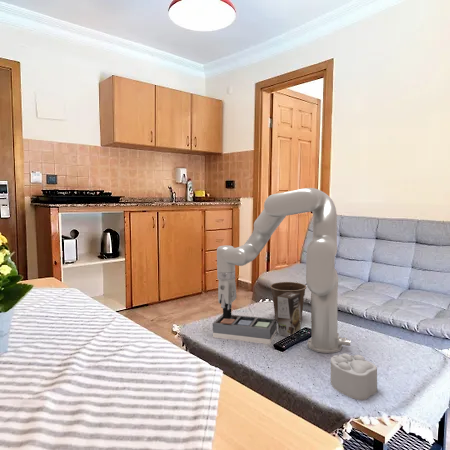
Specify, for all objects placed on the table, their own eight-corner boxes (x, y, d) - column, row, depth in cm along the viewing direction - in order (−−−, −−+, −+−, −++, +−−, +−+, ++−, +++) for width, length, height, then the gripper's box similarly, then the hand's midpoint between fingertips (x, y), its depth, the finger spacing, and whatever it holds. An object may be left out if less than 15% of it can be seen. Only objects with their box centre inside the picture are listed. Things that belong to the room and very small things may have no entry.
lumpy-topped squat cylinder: (360, 403, 97) (360, 372, 96) (322, 383, 107) (322, 356, 106) (381, 389, 103) (381, 361, 102) (343, 372, 113) (343, 346, 112)
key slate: (252, 326, 147) (252, 320, 147) (249, 330, 142) (248, 325, 142) (241, 325, 149) (241, 319, 149) (237, 329, 144) (237, 323, 144)
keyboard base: (276, 332, 147) (276, 328, 147) (270, 344, 136) (270, 339, 136) (223, 326, 156) (223, 322, 156) (213, 337, 145) (212, 332, 144)
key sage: (270, 328, 144) (269, 322, 144) (267, 332, 140) (267, 327, 140) (258, 327, 146) (258, 321, 146) (255, 331, 141) (254, 325, 141)
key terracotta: (235, 324, 150) (235, 319, 150) (231, 328, 145) (231, 323, 145) (224, 323, 151) (224, 318, 151) (220, 327, 147) (220, 322, 147)
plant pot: (288, 311, 173) (288, 279, 171) (314, 321, 159) (313, 286, 158) (263, 319, 163) (262, 285, 162) (288, 329, 150) (287, 292, 149)
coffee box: (291, 337, 142) (290, 298, 140) (277, 334, 146) (276, 296, 144) (301, 330, 149) (300, 293, 148) (287, 327, 153) (287, 291, 151)
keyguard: (276, 328, 147) (276, 319, 147) (270, 339, 136) (269, 329, 136) (223, 322, 156) (223, 313, 155) (212, 332, 144) (212, 323, 144)
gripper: (228, 280, 138) (229, 325, 140) (240, 272, 152) (241, 313, 154) (211, 278, 141) (212, 323, 142) (224, 271, 155) (225, 311, 156)
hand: (227, 317), depth 148 cm, fingers closed
